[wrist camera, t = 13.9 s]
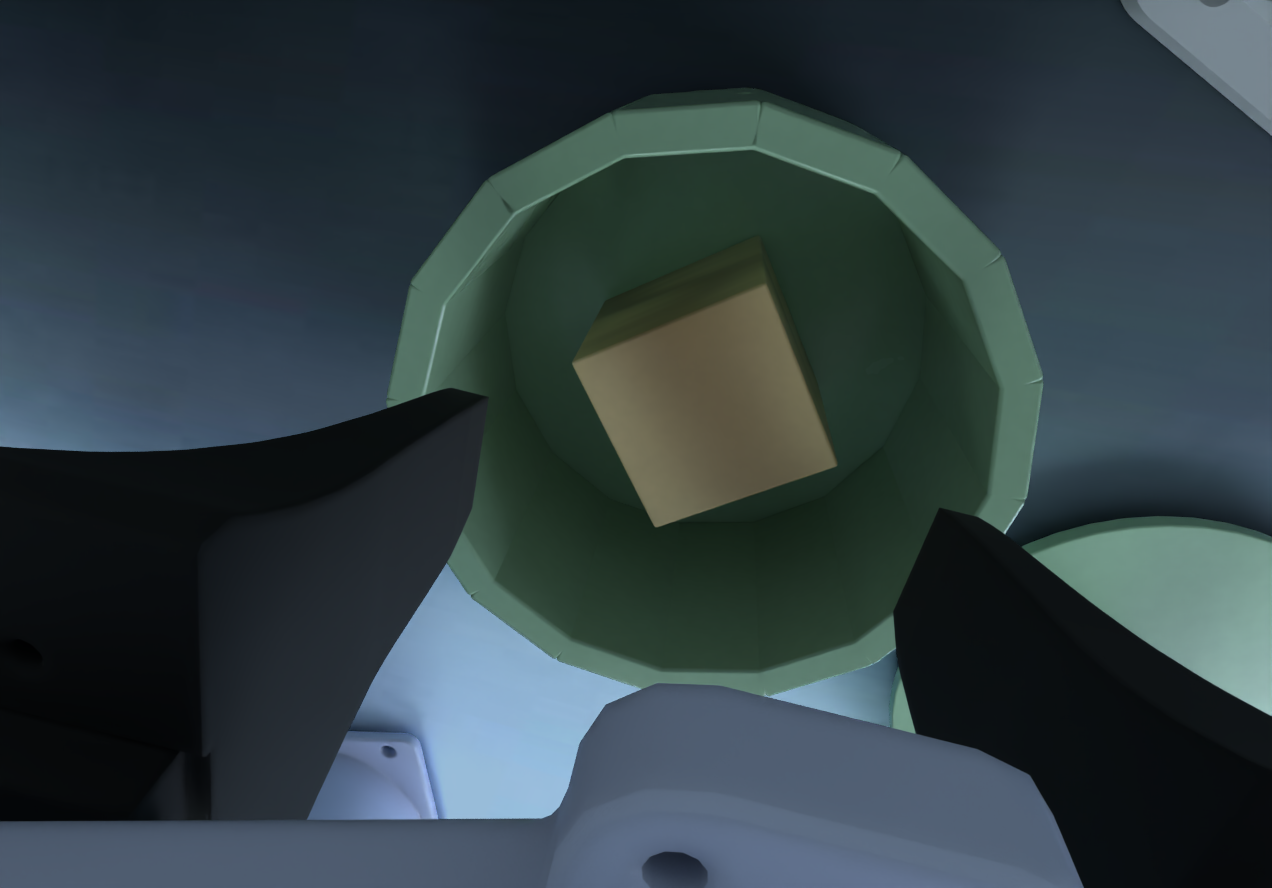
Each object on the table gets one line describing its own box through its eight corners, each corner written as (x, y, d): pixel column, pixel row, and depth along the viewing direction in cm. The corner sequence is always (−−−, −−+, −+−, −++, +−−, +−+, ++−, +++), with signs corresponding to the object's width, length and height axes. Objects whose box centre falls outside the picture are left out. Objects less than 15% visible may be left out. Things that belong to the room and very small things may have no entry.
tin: (517, 536, 24) (447, 691, 18) (451, 109, 19) (326, 131, 13) (930, 534, 22) (999, 702, 16) (972, 69, 17) (1089, 76, 12)
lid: (875, 835, 27) (901, 980, 23) (898, 505, 22) (936, 613, 18) (1288, 852, 25) (1398, 1011, 21) (1418, 500, 20) (1599, 617, 16)
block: (669, 439, 21) (654, 529, 17) (603, 300, 20) (570, 363, 16) (818, 385, 20) (839, 466, 16) (759, 233, 19) (765, 282, 15)
